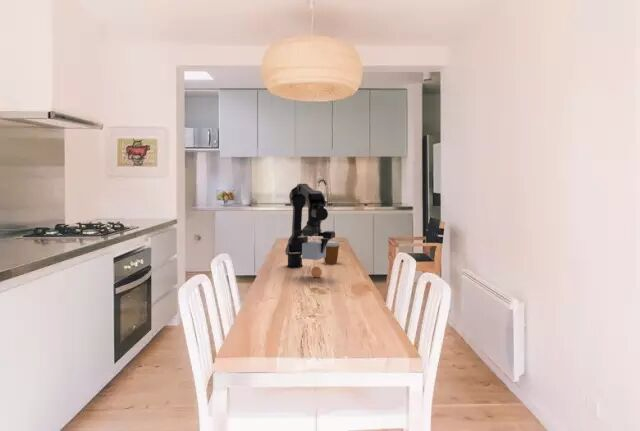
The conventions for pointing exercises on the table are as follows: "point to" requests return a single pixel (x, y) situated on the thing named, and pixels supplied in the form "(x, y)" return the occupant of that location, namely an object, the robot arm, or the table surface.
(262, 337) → the table surface
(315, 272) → the ball
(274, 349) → the table surface
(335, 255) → the disposable coffee cup
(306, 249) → the grey rectangular block
